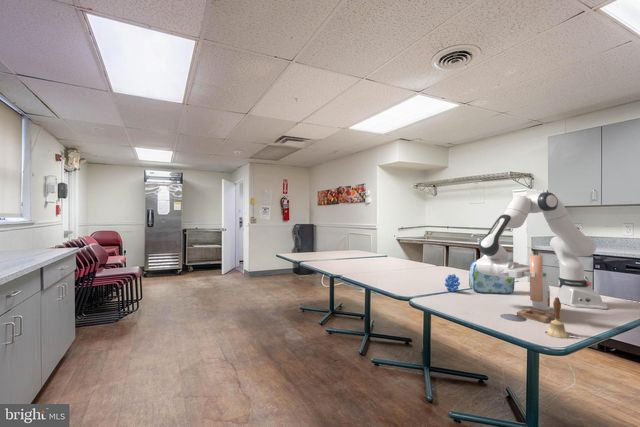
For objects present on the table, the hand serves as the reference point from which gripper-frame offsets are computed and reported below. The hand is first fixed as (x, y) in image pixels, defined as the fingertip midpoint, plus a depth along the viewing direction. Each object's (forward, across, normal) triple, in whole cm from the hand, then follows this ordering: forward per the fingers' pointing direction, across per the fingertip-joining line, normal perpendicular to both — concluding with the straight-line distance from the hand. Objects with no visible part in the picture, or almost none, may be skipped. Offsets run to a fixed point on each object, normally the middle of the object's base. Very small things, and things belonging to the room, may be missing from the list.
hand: (538, 274), depth 150 cm
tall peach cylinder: (-1, 0, +13) cm, 13 cm away
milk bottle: (-6, +20, +23) cm, 31 cm away
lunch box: (-40, +35, +23) cm, 57 cm away
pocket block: (-1, 0, +22) cm, 22 cm away
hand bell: (+12, -15, +22) cm, 30 cm away
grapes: (-54, +14, +22) cm, 60 cm away
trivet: (-7, -10, +22) cm, 25 cm away
